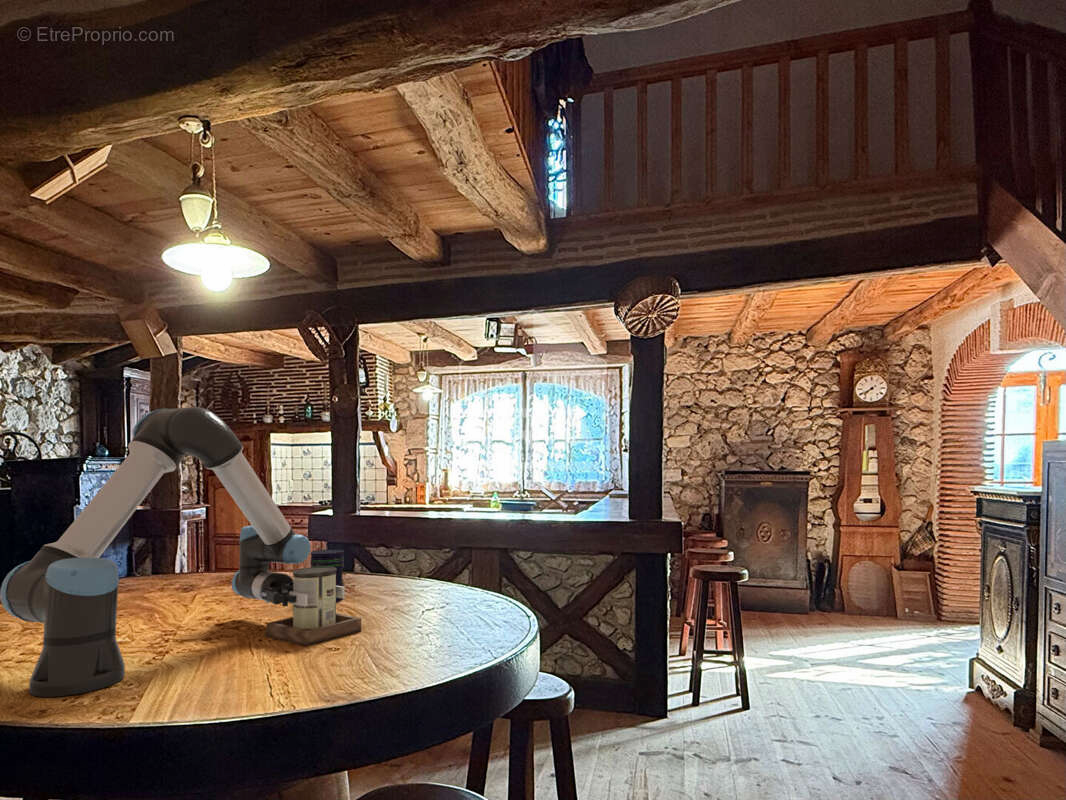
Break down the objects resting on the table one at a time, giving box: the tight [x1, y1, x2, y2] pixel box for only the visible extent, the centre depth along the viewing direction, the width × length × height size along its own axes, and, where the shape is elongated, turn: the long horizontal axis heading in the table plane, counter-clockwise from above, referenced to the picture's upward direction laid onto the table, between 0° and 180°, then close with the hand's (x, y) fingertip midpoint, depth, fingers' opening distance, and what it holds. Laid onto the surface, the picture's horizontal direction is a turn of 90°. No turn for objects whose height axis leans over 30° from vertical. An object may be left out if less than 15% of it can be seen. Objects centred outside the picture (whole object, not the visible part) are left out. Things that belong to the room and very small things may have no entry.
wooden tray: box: [266, 612, 362, 647], centre depth 160 cm, size 16×16×3 cm
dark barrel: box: [309, 548, 345, 603], centre depth 200 cm, size 10×10×15 cm
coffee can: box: [292, 566, 337, 630], centre depth 161 cm, size 10×10×14 cm
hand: (325, 596), depth 158 cm, fingers closed on coffee can, 10 cm apart
